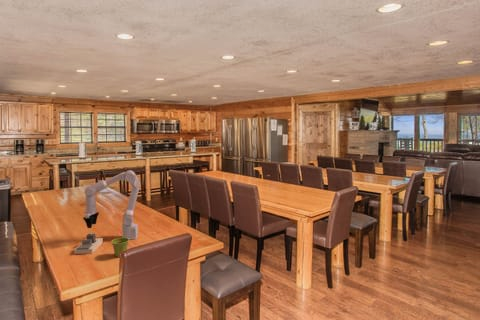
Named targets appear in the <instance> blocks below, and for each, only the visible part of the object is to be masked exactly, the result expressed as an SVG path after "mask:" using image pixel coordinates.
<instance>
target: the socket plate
mask: <svg viewBox="0 0 480 320" xmlns="http://www.w3.org/2000/svg"><path fill="white" fill-rule="evenodd" d="M103 239H104V238H102V237H98V238H97V237H96V242H95V243H92V246H91V247H90V248H89V249H81V250H77V247H79V246H80V245H81V244H82V242H81V243H80V244H78V245H77V246H76V247H75V248H74V249H73V254H74V255H81V254H82V255H83V254H84V255H86V254H87V255H88V254H94V252H95V251H96V250H97V249H98V248H99V247H100V246H101V245H102V243H103V241H104V240H103ZM84 240H87V238H85V239H84Z"/></svg>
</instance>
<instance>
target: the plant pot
mask: <svg viewBox="0 0 480 320" xmlns="http://www.w3.org/2000/svg"><path fill="white" fill-rule="evenodd" d="M129 241H130V239H128V238H122V237H117V238H116V237H115V238H113V239H112V240H111V242H110V243H111V244H112V247H113V251H114V252H113V253H114V256H115V257H117V258H120V257H119V256H120V254H121V252H122V251H123V250H126V249H127V250H128V247H129V246H128V245H129Z"/></svg>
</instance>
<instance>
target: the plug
mask: <svg viewBox="0 0 480 320" xmlns="http://www.w3.org/2000/svg"><path fill="white" fill-rule="evenodd" d="M85 237H86V238H85V239H87V240H90V239H91V243H95V242H96V238H97V237H96V233H93V232H91V231H90V232H89V233H88V234H86V236H85Z"/></svg>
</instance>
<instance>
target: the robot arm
mask: <svg viewBox="0 0 480 320" xmlns="http://www.w3.org/2000/svg"><path fill="white" fill-rule="evenodd" d="M119 181H123V182H124V181H126V182H128V183H129V184H130V185H131V186H132V187H131V190H130V194H129V198H128V203H127V206H126V209H125V212H124V214H123V215H122V224H121V229H122V230H121V231H122V237H121V238H128V239H129V240H135V239H137V237H138V236H139V225H138V224H137V223H134V210H135V207H136V202H137V199H138V195H139V190H140V187H141V183H140V180H139V178H138V176H137V174H136V172H134V171H133V170H132V169H129V170H126V171H123V172H121V173H119V174H117V175H114V176H112V177H110V178H108V179H107V180H104V179H103V180H101V179H99V180H98V181H97V182H95V183H91V184H90V185H87V186H86V188H85V189H84V194H85V195H84V196H85V211H84V212H83V213H84V214H85V215H84V217H83V220H84V222H85V224H86V227H87V229H92V227H93V225H96V224H97V220H98V218H99V217H98V216H99V214H100V212H98V209H97V203H96V202H97V201H96V193H97V194H98V193H99V192H101V191H103V190H106V189H107V188H108V187H109V185H112V184H114V183H116V182H119Z"/></svg>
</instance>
